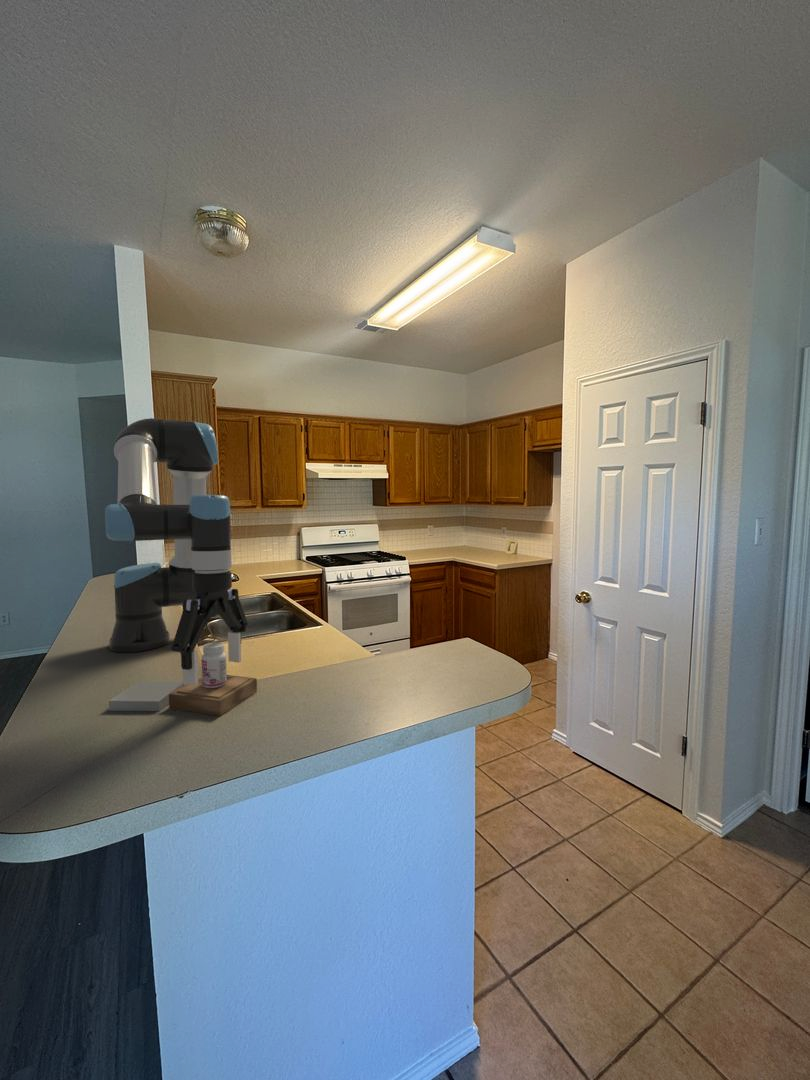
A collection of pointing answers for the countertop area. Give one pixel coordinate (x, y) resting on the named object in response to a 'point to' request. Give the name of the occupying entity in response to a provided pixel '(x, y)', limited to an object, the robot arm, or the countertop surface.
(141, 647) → the robot arm
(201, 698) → the walnut stand
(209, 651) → the pill bottle
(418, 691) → the countertop surface
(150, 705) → the slate tile
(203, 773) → the countertop surface
